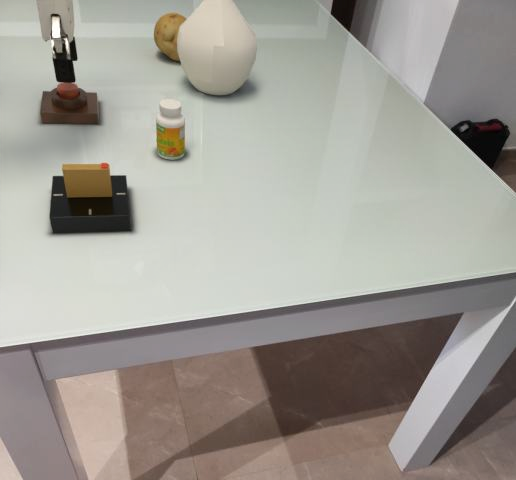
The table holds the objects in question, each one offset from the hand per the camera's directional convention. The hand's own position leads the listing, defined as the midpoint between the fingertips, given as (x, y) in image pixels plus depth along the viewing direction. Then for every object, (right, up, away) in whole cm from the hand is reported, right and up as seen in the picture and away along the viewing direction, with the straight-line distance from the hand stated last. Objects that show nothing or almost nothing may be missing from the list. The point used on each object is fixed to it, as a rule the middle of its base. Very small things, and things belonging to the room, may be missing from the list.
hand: (67, 70), depth 93 cm
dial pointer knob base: (+7, -27, -7) cm, 29 cm away
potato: (+13, +25, +41) cm, 50 cm away
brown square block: (-5, -1, +14) cm, 15 cm away
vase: (+24, +13, +32) cm, 42 cm away
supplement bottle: (+17, -12, +8) cm, 23 cm away
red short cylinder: (-4, +1, +12) cm, 13 cm away
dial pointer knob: (+7, -25, -10) cm, 28 cm away
